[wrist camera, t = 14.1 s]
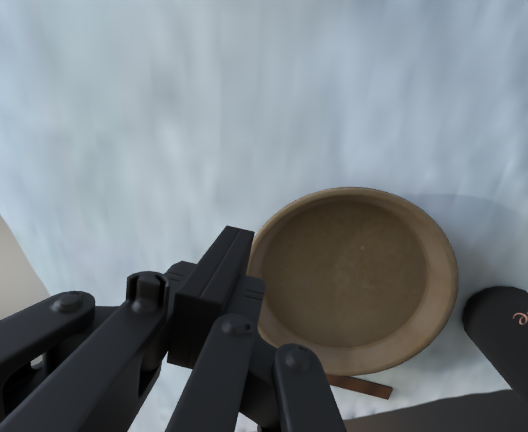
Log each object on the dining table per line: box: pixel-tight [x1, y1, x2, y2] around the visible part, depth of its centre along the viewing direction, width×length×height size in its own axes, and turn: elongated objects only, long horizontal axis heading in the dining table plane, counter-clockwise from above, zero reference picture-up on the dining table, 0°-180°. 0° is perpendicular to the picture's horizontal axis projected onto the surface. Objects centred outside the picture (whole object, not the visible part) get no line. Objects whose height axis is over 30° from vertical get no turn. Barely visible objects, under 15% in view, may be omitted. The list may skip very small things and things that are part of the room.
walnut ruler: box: [325, 374, 393, 400], centre depth 52 cm, size 30×2×1 cm, turn 79°
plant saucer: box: [246, 187, 458, 376], centre depth 44 cm, size 31×31×5 cm
